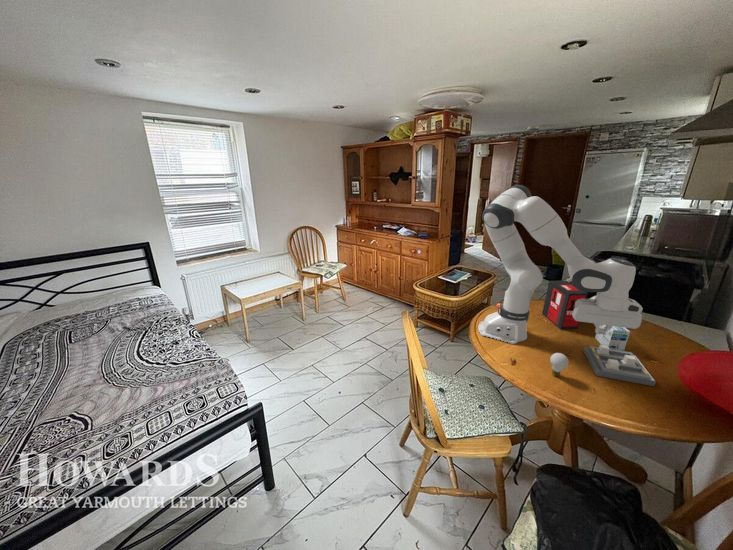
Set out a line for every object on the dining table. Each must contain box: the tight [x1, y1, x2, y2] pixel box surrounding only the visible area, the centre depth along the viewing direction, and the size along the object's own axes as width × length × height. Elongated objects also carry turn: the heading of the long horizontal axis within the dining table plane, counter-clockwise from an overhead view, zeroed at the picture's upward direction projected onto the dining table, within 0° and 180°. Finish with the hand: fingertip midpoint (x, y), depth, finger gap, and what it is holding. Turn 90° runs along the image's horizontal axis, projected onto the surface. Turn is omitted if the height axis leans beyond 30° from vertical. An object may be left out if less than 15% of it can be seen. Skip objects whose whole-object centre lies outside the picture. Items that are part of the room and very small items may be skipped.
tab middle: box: [620, 355, 636, 366], centre depth 115 cm, size 4×3×4 cm
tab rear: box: [596, 344, 610, 355], centre depth 122 cm, size 4×3×4 cm
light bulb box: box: [594, 324, 631, 351], centre depth 130 cm, size 11×7×11 cm, turn 168°
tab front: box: [604, 359, 619, 370], centre depth 113 cm, size 4×3×4 cm
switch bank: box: [583, 345, 657, 387], centre depth 117 cm, size 18×17×3 cm
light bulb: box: [549, 352, 569, 377], centre depth 112 cm, size 6×6×10 cm
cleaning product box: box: [541, 280, 589, 331], centre depth 149 cm, size 16×9×20 cm, turn 179°
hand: (600, 333), depth 111 cm, fingers closed
